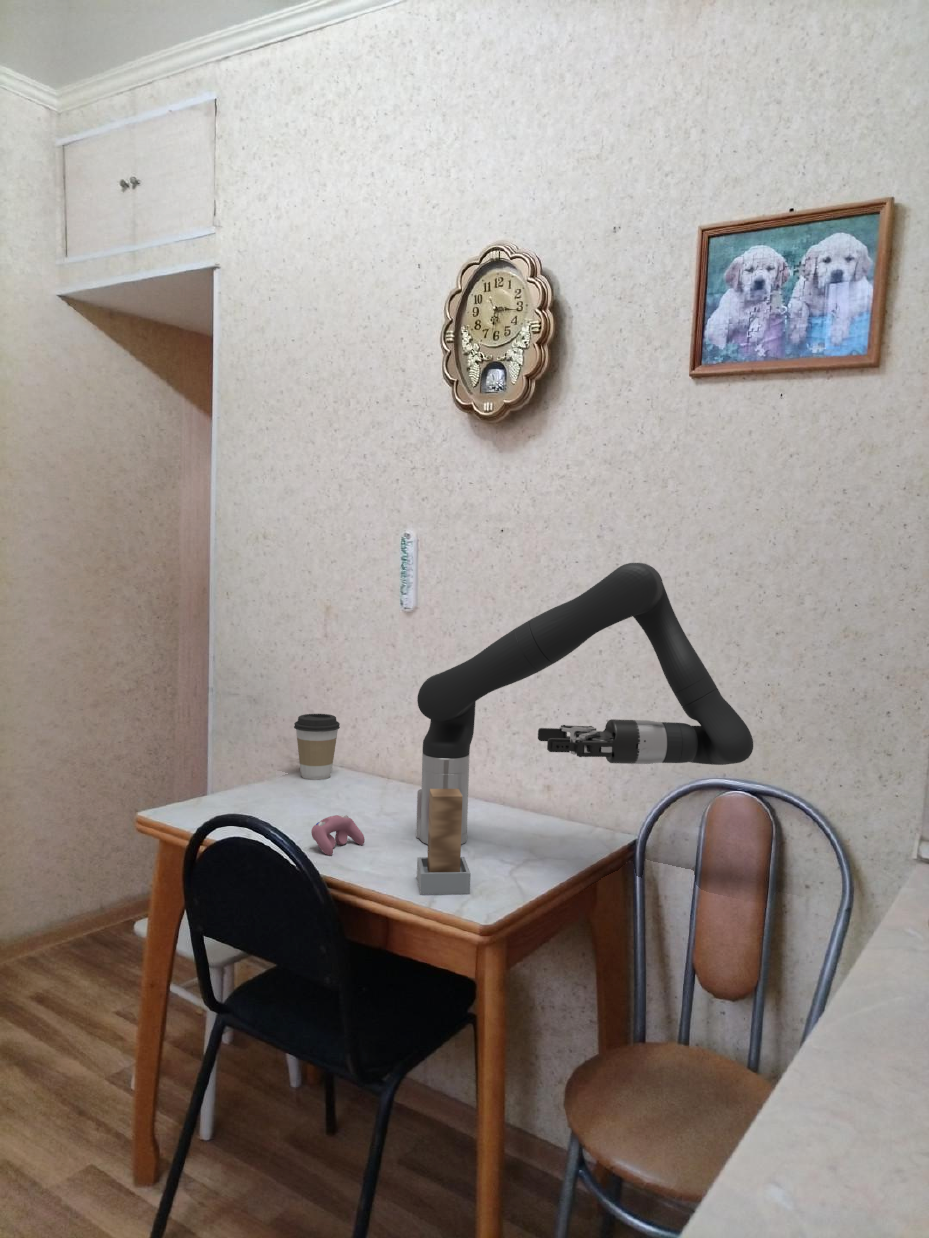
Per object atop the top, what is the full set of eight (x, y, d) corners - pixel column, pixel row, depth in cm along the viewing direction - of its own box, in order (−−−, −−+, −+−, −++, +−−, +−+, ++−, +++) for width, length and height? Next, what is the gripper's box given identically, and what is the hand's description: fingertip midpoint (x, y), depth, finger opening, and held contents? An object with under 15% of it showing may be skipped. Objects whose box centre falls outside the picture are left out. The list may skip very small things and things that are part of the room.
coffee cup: (345, 772, 229) (346, 714, 228) (330, 783, 218) (331, 722, 217) (302, 769, 231) (303, 711, 230) (285, 779, 220) (286, 719, 219)
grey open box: (420, 894, 149) (421, 873, 148) (416, 876, 157) (417, 857, 157) (469, 893, 150) (470, 873, 150) (463, 876, 158) (464, 856, 158)
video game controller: (352, 848, 176) (342, 813, 177) (368, 842, 173) (357, 807, 175) (315, 860, 168) (304, 824, 170) (330, 855, 165) (319, 818, 167)
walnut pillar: (430, 879, 150) (432, 796, 149) (427, 868, 155) (429, 788, 154) (459, 878, 151) (462, 796, 150) (455, 868, 156) (458, 788, 155)
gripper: (624, 712, 163) (536, 710, 161) (649, 728, 149) (552, 726, 147) (622, 753, 163) (533, 751, 161) (646, 773, 149) (550, 771, 147)
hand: (542, 739), depth 154 cm, fingers open, 8 cm apart
